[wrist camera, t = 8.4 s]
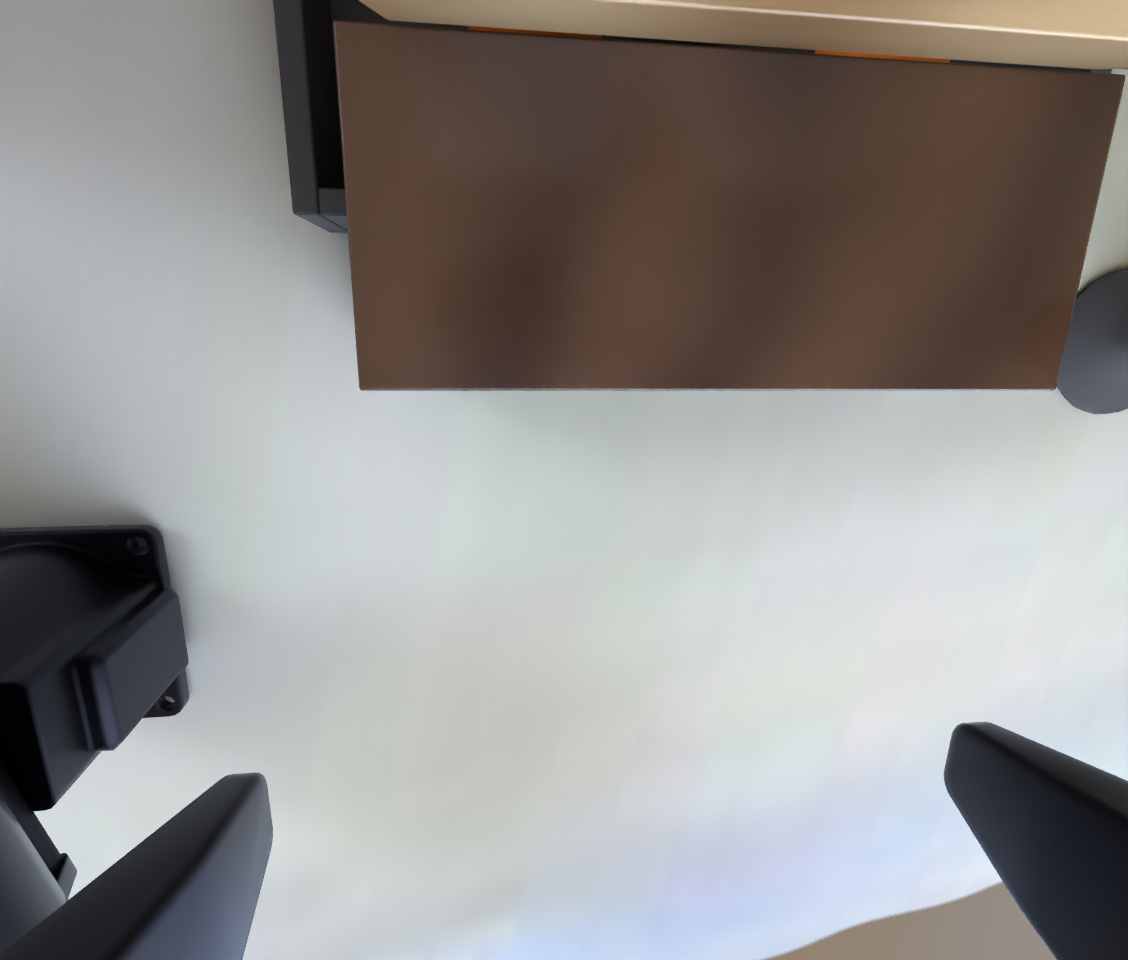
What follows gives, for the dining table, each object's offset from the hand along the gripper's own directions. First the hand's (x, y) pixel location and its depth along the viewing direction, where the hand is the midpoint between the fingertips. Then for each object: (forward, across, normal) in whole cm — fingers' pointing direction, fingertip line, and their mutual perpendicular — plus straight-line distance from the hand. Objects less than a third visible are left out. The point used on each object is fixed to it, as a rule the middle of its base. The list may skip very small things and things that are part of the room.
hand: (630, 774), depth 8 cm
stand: (+13, -4, -8) cm, 16 cm away
